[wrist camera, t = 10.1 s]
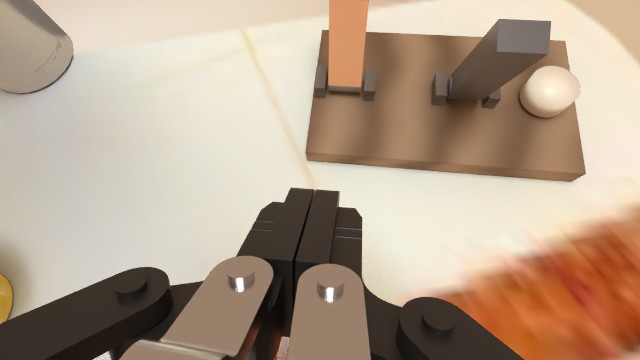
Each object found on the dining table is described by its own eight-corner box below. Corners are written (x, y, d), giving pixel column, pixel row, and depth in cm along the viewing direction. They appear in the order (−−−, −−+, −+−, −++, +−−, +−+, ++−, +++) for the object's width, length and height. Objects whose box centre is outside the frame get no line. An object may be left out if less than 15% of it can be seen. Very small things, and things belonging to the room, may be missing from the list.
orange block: (328, 94, 32) (330, -50, 24) (330, 84, 34) (333, -56, 26) (360, 96, 32) (372, -49, 24) (361, 85, 34) (373, -55, 25)
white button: (521, 115, 31) (533, 103, 29) (517, 78, 32) (528, 64, 30) (568, 119, 31) (583, 106, 29) (563, 81, 32) (576, 67, 30)
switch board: (307, 160, 33) (303, 144, 30) (323, 43, 38) (321, 18, 35) (571, 181, 31) (599, 166, 28) (553, 54, 36) (575, 28, 32)
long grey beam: (445, 100, 32) (496, 51, 21) (446, 79, 32) (499, 18, 21) (478, 102, 32) (548, 53, 21) (479, 81, 32) (551, 21, 21)
